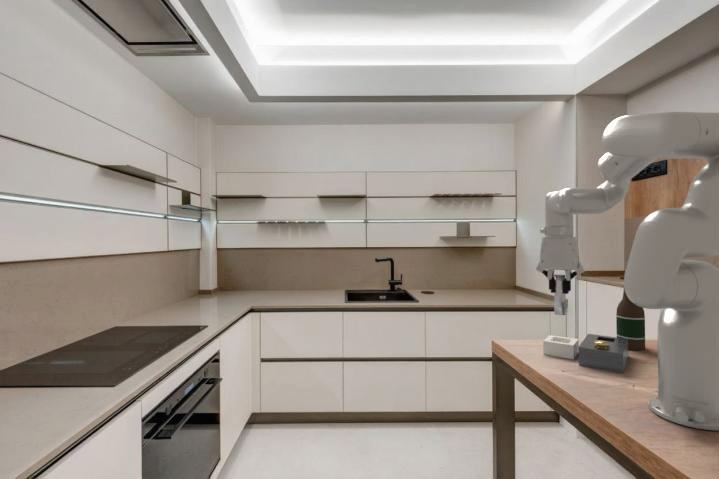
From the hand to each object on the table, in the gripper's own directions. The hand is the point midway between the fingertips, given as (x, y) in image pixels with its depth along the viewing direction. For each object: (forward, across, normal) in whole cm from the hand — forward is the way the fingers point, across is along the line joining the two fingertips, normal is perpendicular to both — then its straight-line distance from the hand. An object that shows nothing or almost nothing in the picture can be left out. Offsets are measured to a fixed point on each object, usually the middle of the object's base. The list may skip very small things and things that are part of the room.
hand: (559, 292), depth 112 cm
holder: (+19, 0, 0) cm, 20 cm away
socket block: (+19, +11, 0) cm, 23 cm away
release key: (+18, +11, -5) cm, 22 cm away
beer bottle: (+20, +16, +19) cm, 32 cm away
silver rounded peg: (+7, 0, 0) cm, 7 cm away
